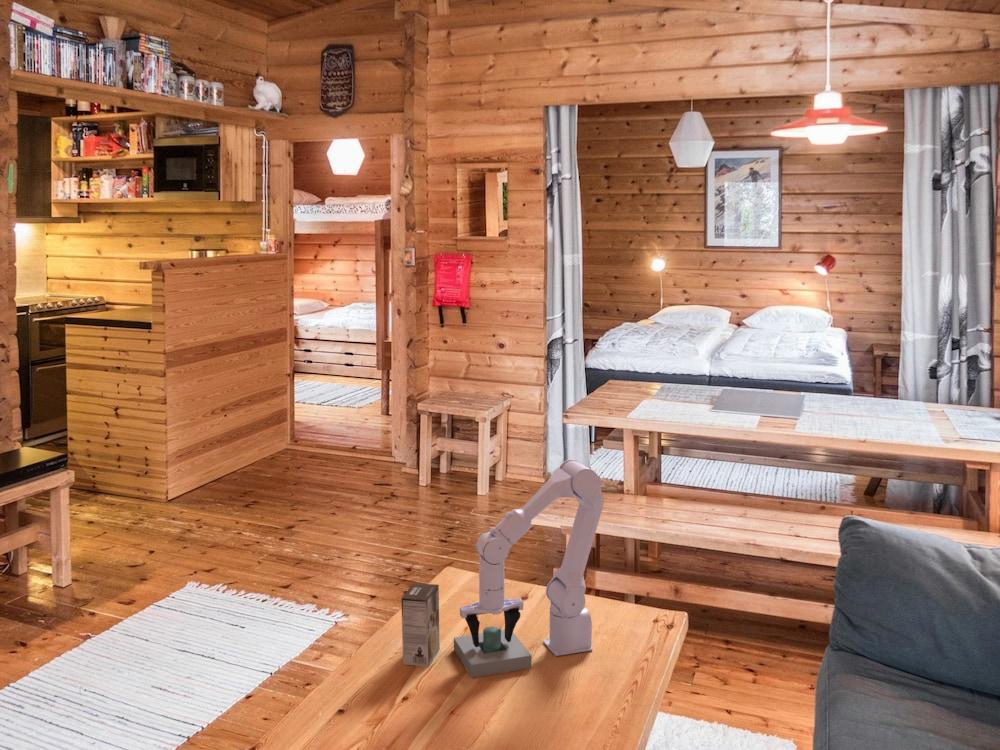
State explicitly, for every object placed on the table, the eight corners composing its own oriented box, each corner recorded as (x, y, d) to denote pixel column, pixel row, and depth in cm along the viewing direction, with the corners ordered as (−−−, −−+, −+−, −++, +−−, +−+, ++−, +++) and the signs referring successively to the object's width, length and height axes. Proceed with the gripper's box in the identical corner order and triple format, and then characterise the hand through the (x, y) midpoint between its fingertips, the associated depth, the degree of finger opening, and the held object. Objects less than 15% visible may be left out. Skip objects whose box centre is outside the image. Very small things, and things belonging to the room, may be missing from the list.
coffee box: (413, 646, 214) (412, 581, 211) (440, 649, 213) (439, 584, 210) (401, 665, 205) (400, 597, 203) (429, 667, 204) (428, 600, 201)
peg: (496, 653, 211) (496, 625, 209) (503, 661, 207) (503, 632, 206) (480, 657, 209) (480, 628, 208) (487, 664, 205) (487, 635, 204)
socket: (510, 641, 217) (510, 629, 217) (531, 667, 204) (531, 655, 203) (453, 649, 213) (453, 637, 212) (471, 677, 200) (471, 665, 199)
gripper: (466, 597, 199) (466, 655, 202) (528, 588, 204) (527, 645, 206) (457, 584, 206) (457, 641, 208) (517, 577, 211) (517, 632, 213)
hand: (491, 642), depth 208 cm, fingers open, 7 cm apart
